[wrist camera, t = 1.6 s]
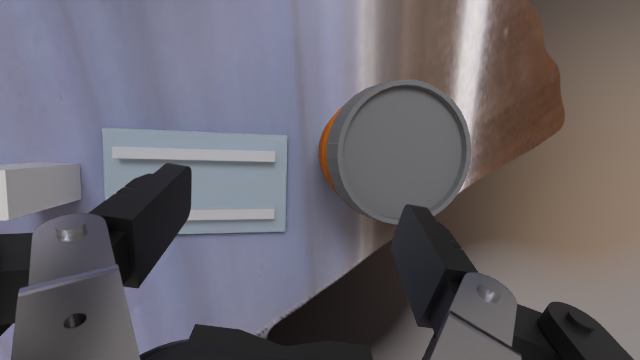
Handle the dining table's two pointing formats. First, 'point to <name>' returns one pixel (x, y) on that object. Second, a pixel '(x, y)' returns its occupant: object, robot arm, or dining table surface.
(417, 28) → the dining table surface
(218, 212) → the mounting board
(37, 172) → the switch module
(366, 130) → the reusable coffee cup
